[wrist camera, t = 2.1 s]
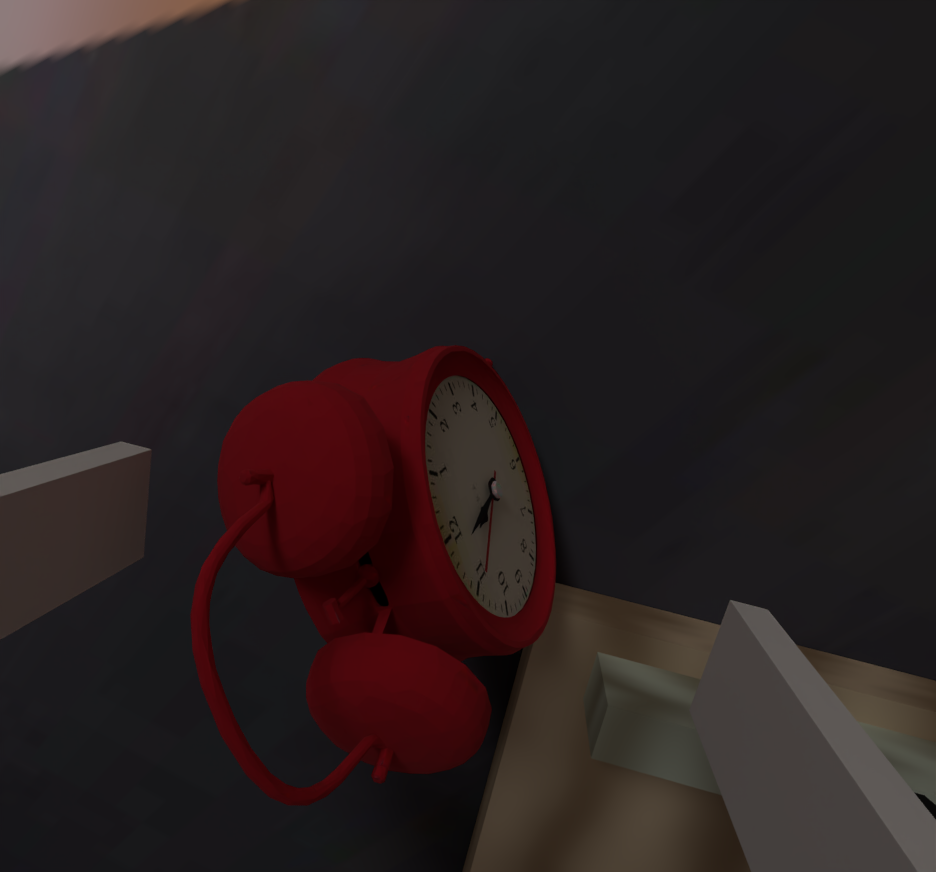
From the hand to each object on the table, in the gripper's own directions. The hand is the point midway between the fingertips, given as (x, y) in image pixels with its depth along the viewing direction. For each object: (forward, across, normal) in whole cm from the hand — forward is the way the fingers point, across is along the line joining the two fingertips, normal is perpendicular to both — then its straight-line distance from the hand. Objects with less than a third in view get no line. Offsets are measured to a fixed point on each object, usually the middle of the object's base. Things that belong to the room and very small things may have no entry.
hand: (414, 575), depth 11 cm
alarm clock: (+11, 0, 0) cm, 11 cm away
